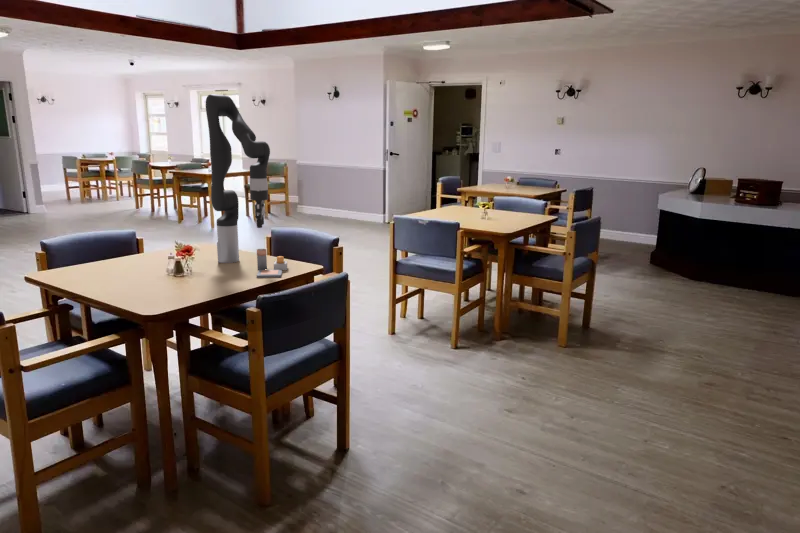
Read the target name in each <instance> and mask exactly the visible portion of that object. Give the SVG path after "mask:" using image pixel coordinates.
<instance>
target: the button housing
mask: <svg viewBox="0 0 800 533" xmlns="http://www.w3.org/2000/svg"><path fill="white" fill-rule="evenodd" d="M273 270H287V271H288V261H287V260H284V263H280V264H277V260H275V261H274V263H273Z"/></svg>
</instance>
